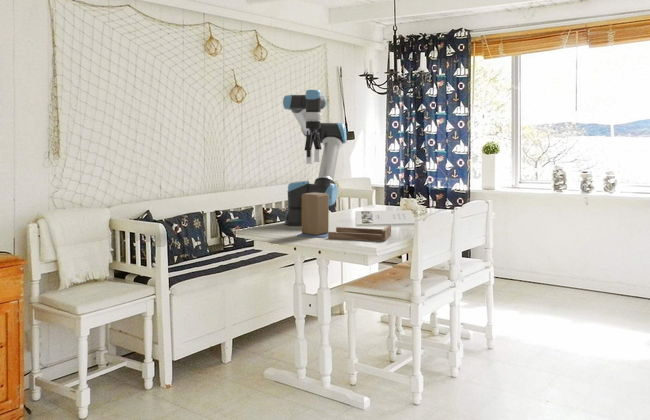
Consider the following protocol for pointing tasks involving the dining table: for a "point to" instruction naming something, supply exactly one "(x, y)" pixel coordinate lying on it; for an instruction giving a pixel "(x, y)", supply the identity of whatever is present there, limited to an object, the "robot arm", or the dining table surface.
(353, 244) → the dining table surface
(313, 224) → the wooden block
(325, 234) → the blue square plate
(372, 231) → the frame
